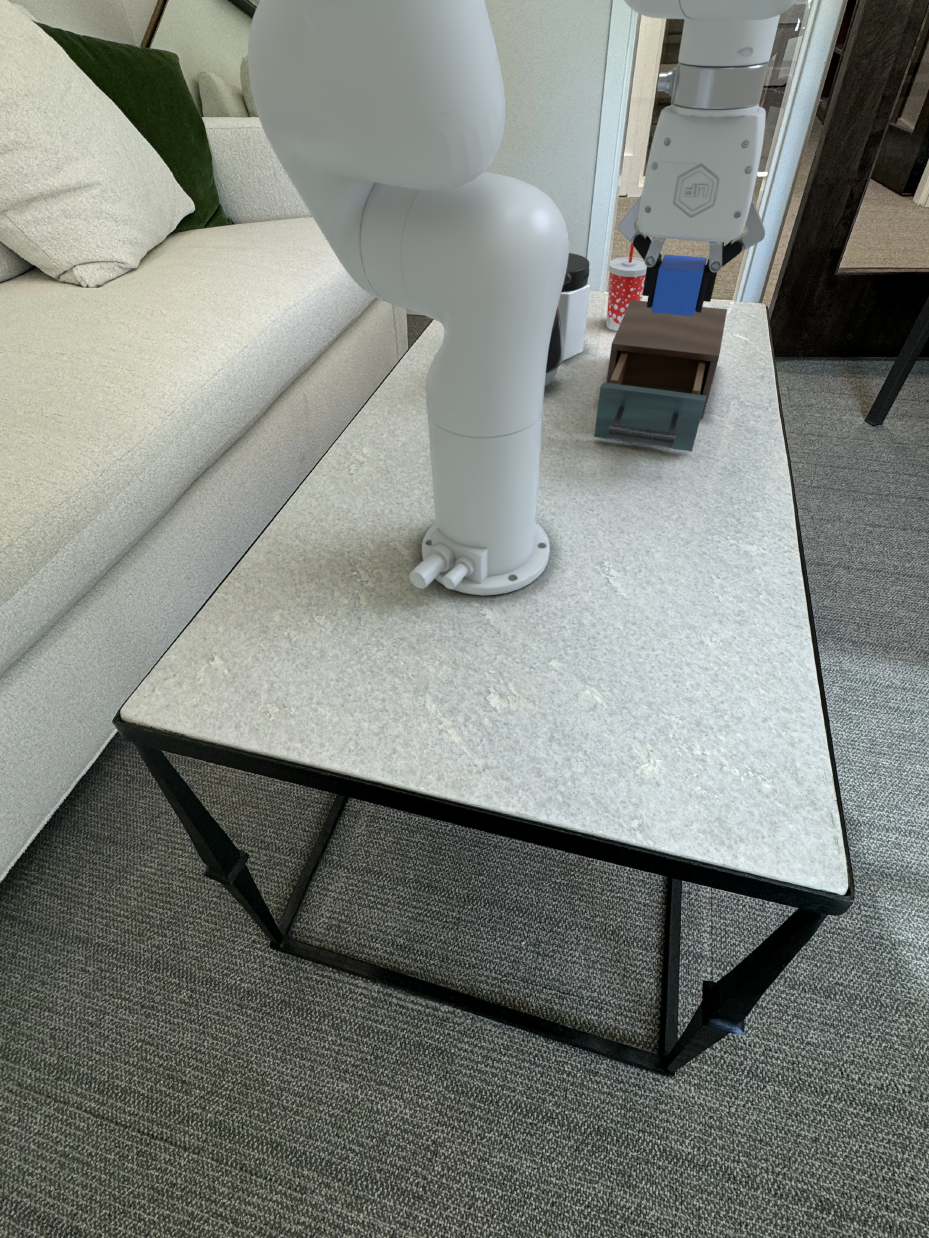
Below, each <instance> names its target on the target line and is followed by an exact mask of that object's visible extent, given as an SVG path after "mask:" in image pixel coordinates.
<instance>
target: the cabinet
mask: <svg viewBox="0 0 929 1238" xmlns="http://www.w3.org/2000/svg"><path fill="white" fill-rule="evenodd" d="M727 312H728V308H719V307H708V306H702V310H701V313H699V312H696V311H695V313H694V316H684V315H674V314H664V313H653V312H652V307H651V308H648V307H647V301H645V300H642V301H637V300H631V301H630V303H629V306H628V308H627V310H626V312H625V315H624V317H623V319H622V322H621V324H620V326H619V328H618V331H616V333H615V335H614V338H613V340H612V342H611V347H610V354H609V361H608V368H607V374H606V375H607V376H606V381H605V383H610V380H611V378H612V375H613V373H614V370H615V368H616V365H617V363H618V360H619V358H620V355H621V353H622V351H627V352H635V353H644V354H652V355H661V356H670V357H678V358H687V359H696V360H704V361H706V364H705V369H704V374H703V379H702V384H701V389H700V394H699V395H705V396H706V399H705V403H704V407H703V411H702V415H701V419H700V420H702V419H704V416H705V412H706V408H707V404H708V401H709V397H710V394H711V389H712V386H713V381H714V378H715V373H716V371H717V366H718V362H719V360H720V359H719V358H720V354H721V348H722V342H723V337H724V330H725V324H726V319H727Z"/></svg>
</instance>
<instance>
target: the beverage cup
mask: <svg viewBox="0 0 929 1238" xmlns="http://www.w3.org/2000/svg"><path fill="white" fill-rule="evenodd" d="M629 248H630V249H629V256H623V257H616V258H613V259H611V260H610V261H609V262H608V272H609V280H608V296H607V307H606V308H607V309H606V321H605V322H606V323H605V325H606V328H607V329H609V330H611V331H615V332H617V331H618V328H619V326H620V324H621V322H622V319H623V317H624V315H625V312H626V310H627V308H628V306H629V303H630V301H631V300H637V301H643V297H644V296H643V288H644V282H645V276H646V269H647V266H646V265H645V263H644V260H643V258H642V257H633V256H634V249H635V247H634V245H633V243H631V242H630V247H629Z"/></svg>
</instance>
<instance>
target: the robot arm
mask: <svg viewBox="0 0 929 1238" xmlns="http://www.w3.org/2000/svg"><path fill="white" fill-rule="evenodd" d="M623 1H624V2H625V4H626V5H627V6H628V7H629V8H630V9H631V10H632V11H634V12H635V13H637V14H640V15H641V16H643V17H647V18H652V19H663V20H665V19H667V20H684V22H683V28H682V33H681V39H680V40H681V41H680V47H679V53H678V58H677V61H678V62H677V64H676V66H674V67H673V69H669V70H668V71H660V72H659V74H658V79H657V87H656V91H657V92H664V93H665V94H668V97H671V98H670V105H668V106H665V107H664V108H663V109H661V111H660V114H659V117H658V120H657V124H656V126H655V131H654V133H653V137H652V142H651V146H650V151H649V155H648V160H647V165H646V170H645V174H644V175H645V176H644V181H643V186H642V190H641V191H642V192H641V194H640V195H639V197H638V198H637V199H636V201H635V203H633V205H632V206H631V207H630V209H628V211H627V213H626V214H625V215H624V216H623V218H622V219H621V220H620V222H619V223H618V227H617V229H618V232H619V233H620V234H621V235H622V236H623V237H624V238H625V239H626V240H627V241H628V242H630V244H631V243H633V245H634V249H635V250H636V251H637V253H638V254H639V255H640V258H641V259H643V260H644V263H645V265H646V266H647V269H646V276H645V282H644V288H643V296H642V297H647V307H648V308H651V307H652V306H653V300H654V294H655V288H656V283H657V277H658V271H659V267H660V265H661V262H662V260H663V257H662V256H663V255H662V253H661V252H662V249H663V246H664V244H665V242H666V240H679V241H694V242H709V243H708V244H709V245H708V246H709V247H708V248H709V249H708V251H709V252H708V255H709V256H708V258H707V261H706V265H705V268H704V272H703V276H702V281H701V285H700V290H699V294H698V299H697V304H696V308H695V311H696V312H699V313H701V310H702V307H704V302H705V303H710V302H712V297H713V292H714V288H715V286H716V285H715V284H716V280H717V277H718V276H717V275H718V273H719V272H720V271H721V269H722V268H724V266H725V265H727V264H728V263H730V262H731V261H732V260H733V259H735V258H736V257H738V256H739V255H740V254H741V253H742V252H744V251H746V250H748V249H750V248H752V247H753V246H755V245H757V244H758V243H760V242H762V241H763V240H764V239H765V236H766V229H765V227H764V224H763V220H762V218H761V216H760V213H759V210H758V208H757V205H756V203H755V200H754V192H755V187H756V183H757V177H758V172H759V168H760V161H761V156H762V151H763V145H764V138H765V130H766V118H767V117H766V116H767V111H766V109H765V108H764V107H762V106H760V102H761V98H762V95H763V89H764V84H765V80H766V77H767V73H768V68H769V63H770V60H771V56H772V51H773V47H774V43H775V40H776V35H777V30H778V26H779V22H780V19H781V15H782V14H784V13H785V12H786V11H788V10H789V9H791V8H792V7H793V6H794V5H795V4H796V3H797V2H798V1H799V0H623ZM490 21H491V20H490V17H489V13H488V10H487V6H486V1H485V0H259V3H258V5H257V6H256V8H255V11H254V14H253V16H252V19H251V25H250V29H249V34H248V41H247V42H248V43H247V45H248V46H247V67H248V77H249V84H250V89H251V94H252V99H253V103H254V106H255V109H256V113H257V117H258V119H259V122H260V124H261V127H262V130H263V133H264V134H265V137H266V139H267V141H268V142H269V145H270V146H271V149H272V151H273V153H274V154H275V156H276V158H277V159H278V161H279V164H280V165H281V166H282V167H281V168H283V170H284V172H285V174H286V175H287V177H288V178H289V180H290V182H291V183H292V185H293V187H294V188H295V190H296V191H297V194H298V195H299V196H300V198H301V200H302V202H303V203H304V205H305V207H306V209H307V210H308V212H309V213H310V215H311V217H312V218H313V220H314V222H315V224H316V225H317V226H318V228H319V230H320V232H321V234H323V237H324V238H325V240H326V241H327V243H328V245H329V247H330V248H331V250H332V252H333V253H334V255H335V257H336V258H337V260H338V261H339V263H340V264H341V266H342V267H343V269H344V270H345V271H346V273H347V274H348V275H349V277H350V278H351V279H352V280H353V281H354V282H355V283H356V284H357V285H358V287H359V288H361V289H362V290H363V291H364V292H366V293H367V294H369V295H370V296H371V297H374V298H376V299H378V300H380V301H382V302H385V303H387V304H390V305H393V306H396V307H399V308H402V309H405V310H407V311H408V310H409V311H411V312H414V313H417V314H419V315H423V316H425V317H427V318H428V319H431V320H434V321H437V322H439V323H440V324H441V325H442V326H443V330H444V333H443V334H444V335H443V339H442V342H441V345H440V347H439V348H438V350H437V352H436V354H435V356H434V357H433V359H432V360H431V362H430V365H429V368H428V371H427V374H426V381H425V403H426V415H427V426H428V427H427V428H428V438H429V439H428V440H429V454H430V467H431V479H432V480H431V481H432V494H433V506H434V507H433V508H434V521H435V522H434V523H433V524H432V525H431V526H430V527H429V529H428V530H427V531H426V532H425V534H424V537H423V539H422V541H421V556H422V561H421V562H419V564H418V565H416V566H415V567H414V568H413V569H412V570H411V571H410V573H408V578H409V580H410V583H411V584H412V585H413V586H414V587H416V588H417V589H420V590H424V589H426V588H427V587H428V586H429V585H430V584H431V583H432V582H433V581H434V580H436V581H437V582H438V583H440V584H441V585H443V586H444V587H445V588H446V589H448V590H453V591H456V592H460V593H463V594H468V595H475V596H496V595H501V594H507V593H511V592H514V591H517V590H520V589H522V588H525V587H526V586H528V585H530V584H532V583H533V582H534V581H535V580H537V579H538V578H539V577H540V576H541V575H542V573H543V572H544V571H545V569H546V567H547V565H548V563H549V559H550V550H551V549H550V547H551V544H550V540H549V536H548V535H547V533H546V531H545V530H544V528H543V527H542V526H541V525H540V524H539V523H538V522H537V507H538V495H539V494H538V493H539V492H538V490H539V476H540V463H541V462H540V460H541V447H542V432H543V417H544V397H545V387H546V386H545V375H546V365H547V357H548V349H549V343H550V338H551V332H552V327H553V323H554V319H555V314H556V310H557V306H558V302H559V299H560V295H561V291H562V287H563V283H564V279H565V274H566V270H567V263H568V255H569V253H570V240H569V239H570V238H569V232H568V227H567V224H566V221H565V218H564V215H563V213H562V212H561V210H560V209H559V207H558V206H557V204H556V203H555V202H554V201H553V199H552V198H551V197H550V196H548V194H546V193H545V192H544V191H542V190H541V189H539V188H538V187H536V186H534V185H533V184H531V183H528V182H527V181H524V180H522V179H519V178H516V177H512V176H508V175H504V174H500V173H495V172H490V171H489V172H488V171H487V169H488V168H489V167H490V166H491V164H492V163H493V161H494V160H495V157H496V156H497V154H498V152H499V149H500V148H501V144H502V141H503V138H504V132H505V126H506V114H507V113H506V112H507V111H506V110H507V109H506V93H505V86H504V79H503V75H502V68H501V64H500V60H499V55H498V54H499V53H498V50H497V46H496V41H495V38H494V33H493V29H492V25H491V22H490ZM745 227H746V231H745V232H744V233H743V231H744V229H745ZM651 238H652V239H651ZM725 243H726V244H725ZM544 386H545V387H544Z"/></svg>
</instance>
